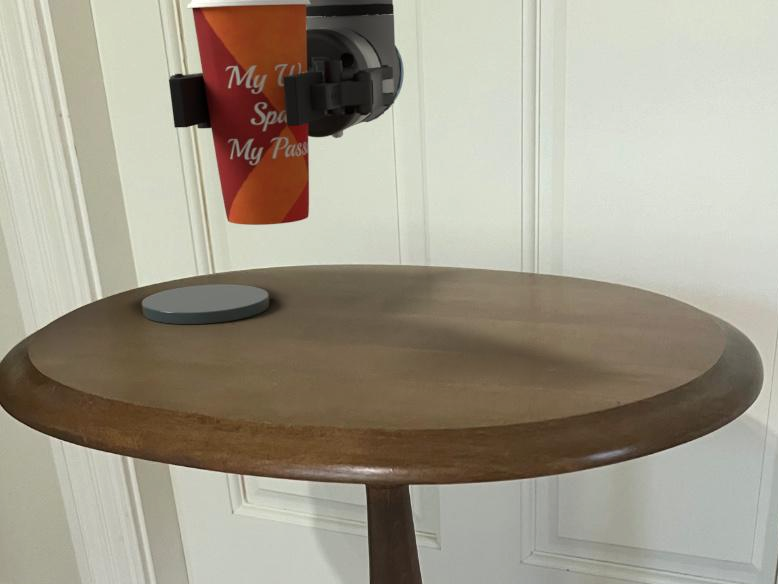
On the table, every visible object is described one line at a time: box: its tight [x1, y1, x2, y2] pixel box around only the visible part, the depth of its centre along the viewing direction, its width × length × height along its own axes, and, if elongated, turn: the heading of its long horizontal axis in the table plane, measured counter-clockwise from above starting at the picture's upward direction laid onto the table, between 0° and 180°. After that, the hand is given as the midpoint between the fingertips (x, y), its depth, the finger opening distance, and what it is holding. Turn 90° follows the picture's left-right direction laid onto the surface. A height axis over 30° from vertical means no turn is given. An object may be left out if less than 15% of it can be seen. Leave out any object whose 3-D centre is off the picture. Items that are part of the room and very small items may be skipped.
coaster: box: [141, 283, 270, 325], centre depth 95 cm, size 11×11×1 cm
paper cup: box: [186, 0, 311, 226], centre depth 71 cm, size 8×8×14 cm
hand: (234, 102), depth 66 cm, fingers closed on paper cup, 6 cm apart
